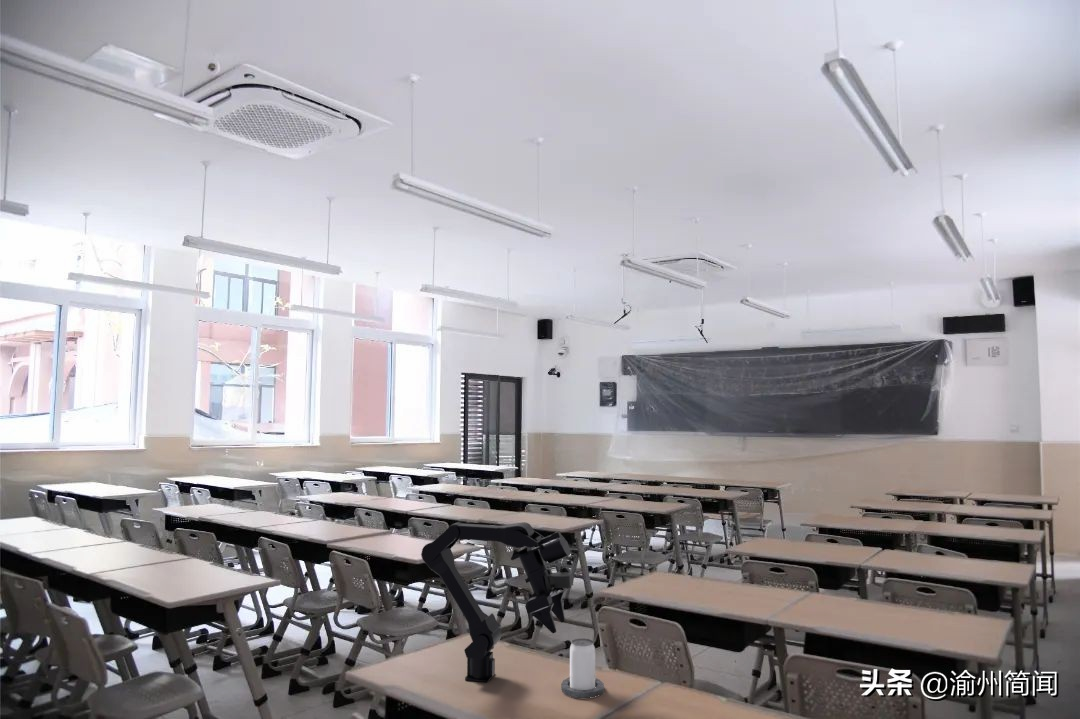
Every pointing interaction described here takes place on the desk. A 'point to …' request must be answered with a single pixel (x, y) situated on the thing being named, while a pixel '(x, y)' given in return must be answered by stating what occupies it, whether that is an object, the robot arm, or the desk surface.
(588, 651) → the can
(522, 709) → the desk surface
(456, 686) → the desk surface
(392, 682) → the desk surface
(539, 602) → the robot arm
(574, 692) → the collar
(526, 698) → the desk surface
